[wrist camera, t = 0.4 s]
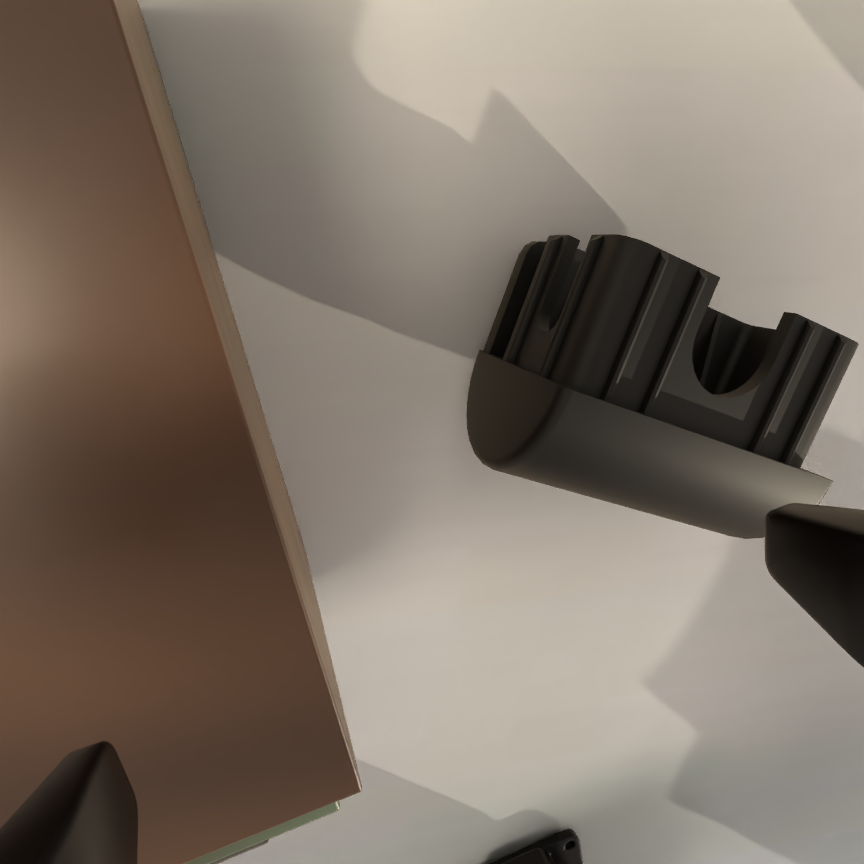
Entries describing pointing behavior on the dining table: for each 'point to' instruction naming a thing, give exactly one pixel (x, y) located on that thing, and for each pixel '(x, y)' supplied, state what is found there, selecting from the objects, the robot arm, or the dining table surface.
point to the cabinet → (140, 468)
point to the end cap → (650, 388)
